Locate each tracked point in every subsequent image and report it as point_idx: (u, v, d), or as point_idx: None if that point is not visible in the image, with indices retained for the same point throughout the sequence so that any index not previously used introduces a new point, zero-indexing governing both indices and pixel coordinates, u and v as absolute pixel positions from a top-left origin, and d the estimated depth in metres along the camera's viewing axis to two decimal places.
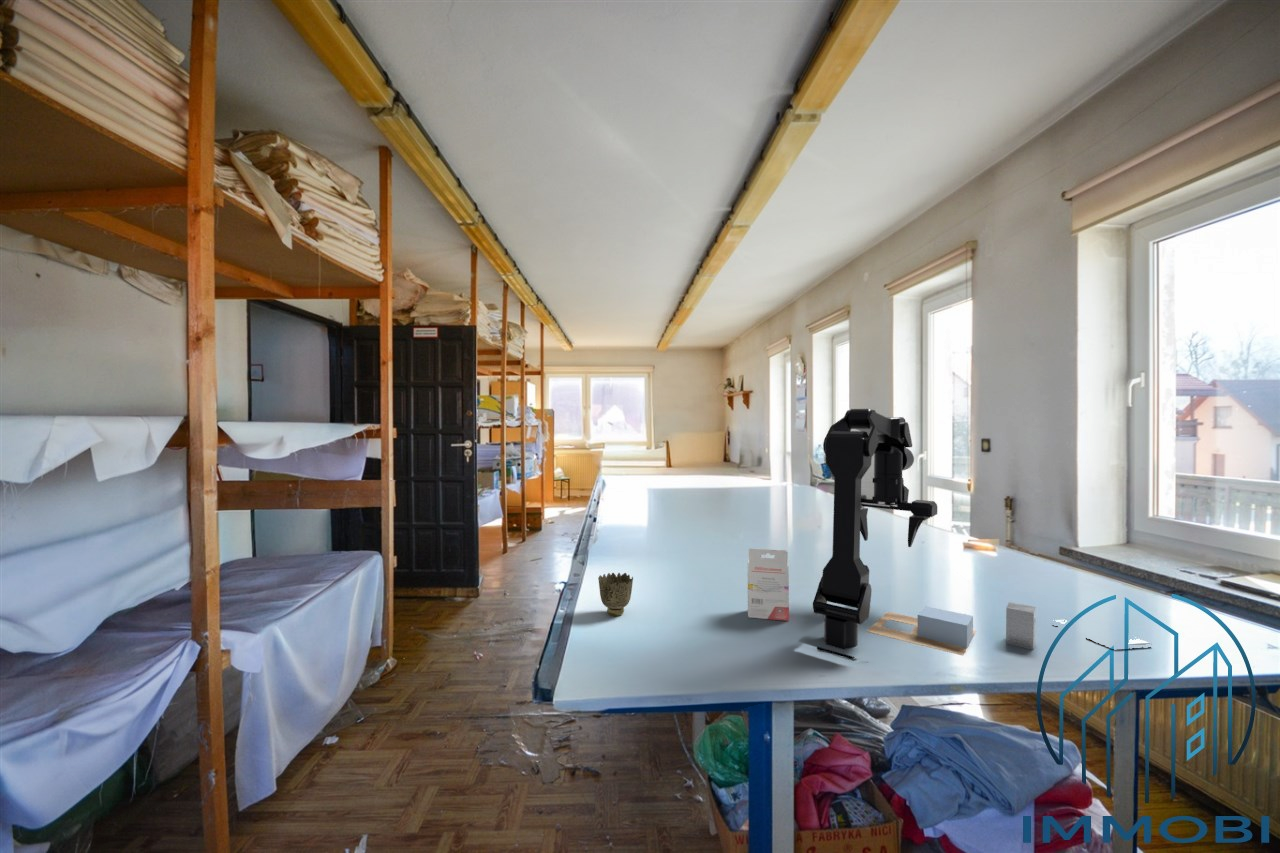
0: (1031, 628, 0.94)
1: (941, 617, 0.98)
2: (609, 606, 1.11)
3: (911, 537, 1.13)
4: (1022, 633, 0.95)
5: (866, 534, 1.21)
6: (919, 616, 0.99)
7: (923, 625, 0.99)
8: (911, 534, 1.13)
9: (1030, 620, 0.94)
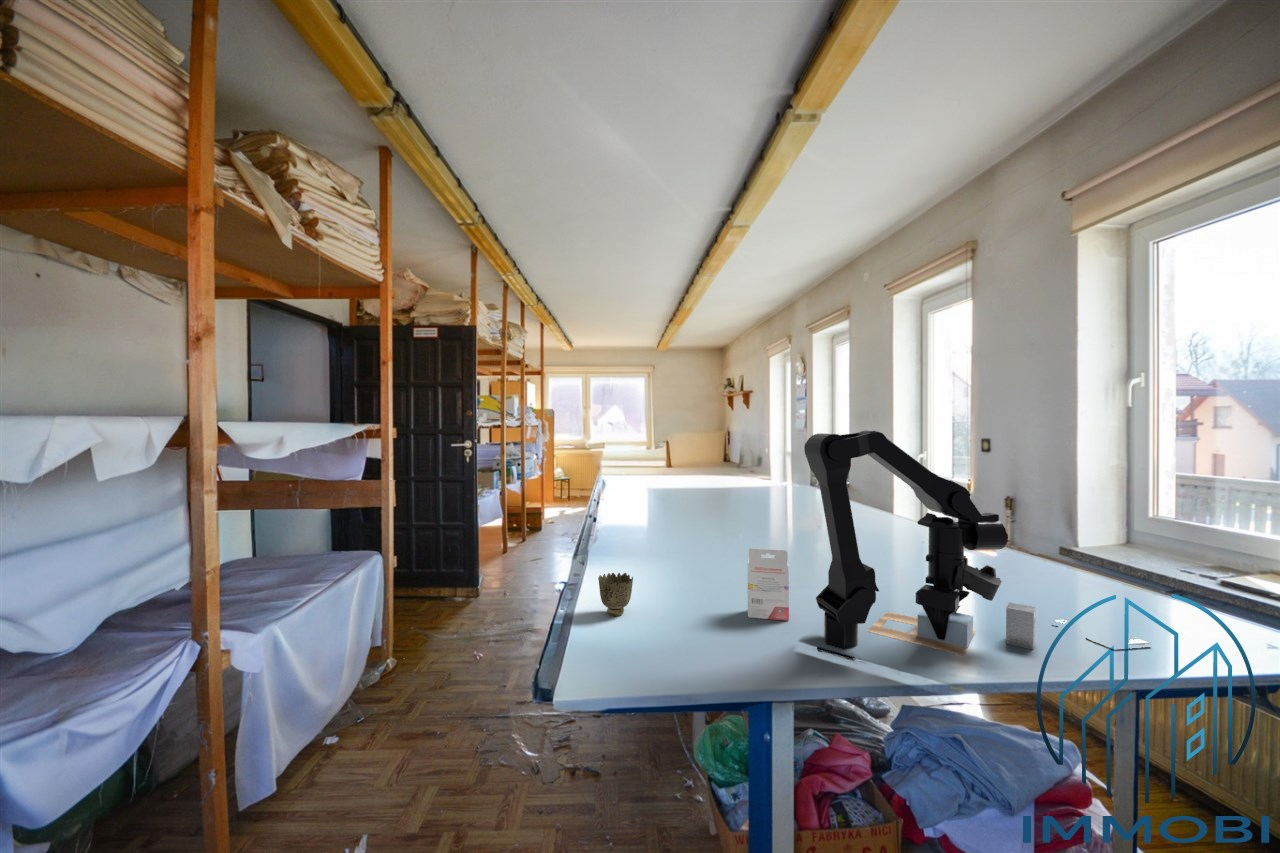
0: (1031, 628, 0.94)
1: None
2: (609, 606, 1.11)
3: None
4: (1022, 633, 0.95)
5: None
6: (919, 616, 0.99)
7: (923, 625, 0.99)
8: None
9: (1030, 620, 0.94)
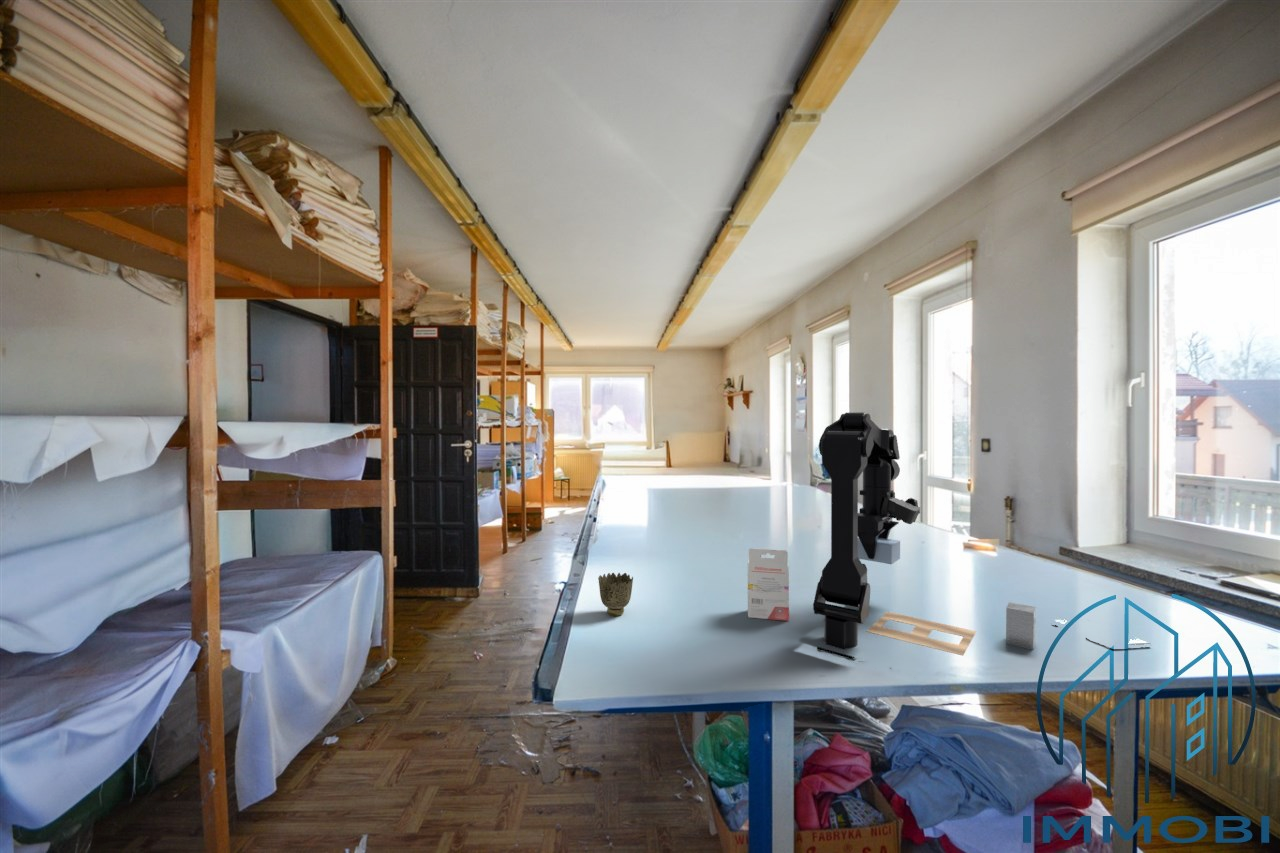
0: (1031, 628, 0.94)
1: None
2: (609, 606, 1.11)
3: None
4: (1022, 633, 0.95)
5: None
6: None
7: None
8: None
9: (1030, 620, 0.94)
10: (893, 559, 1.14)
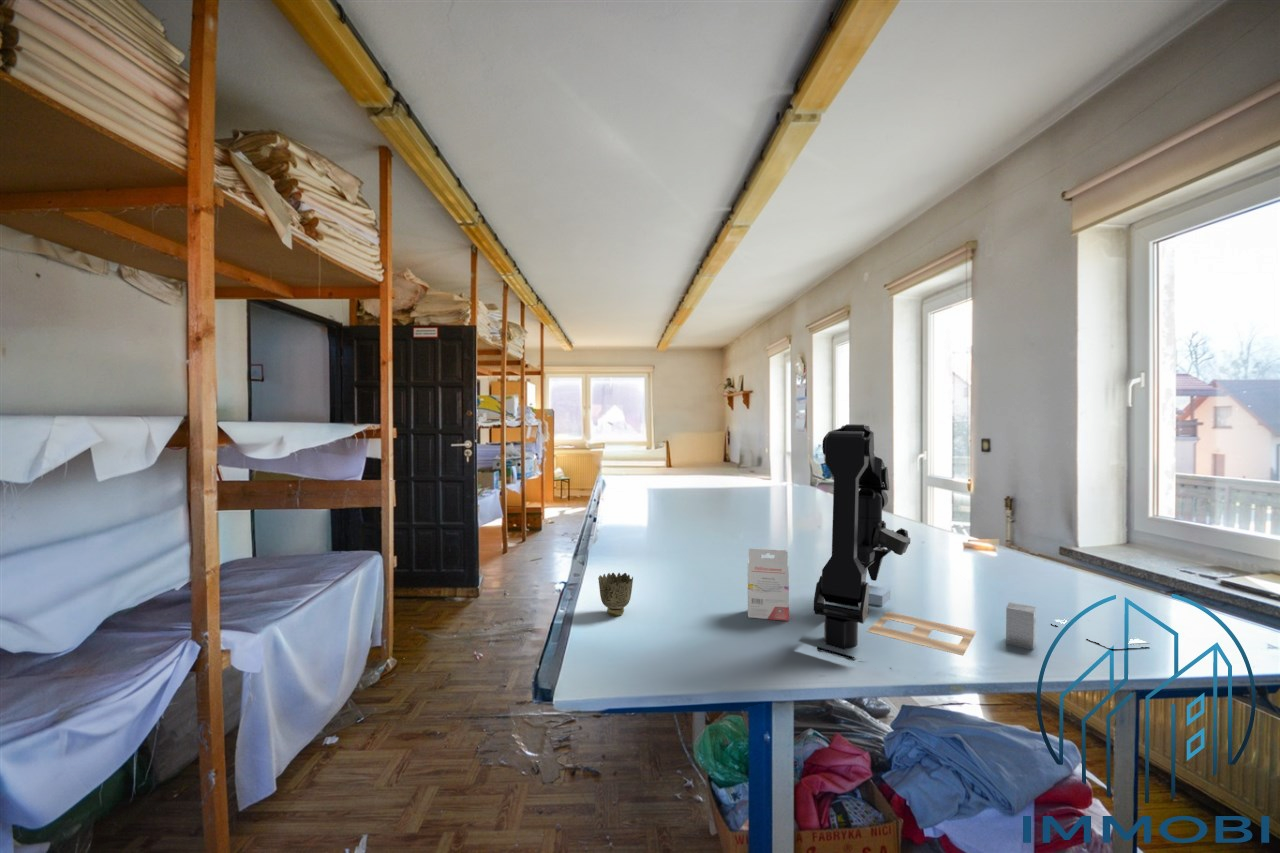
0: (1031, 628, 0.94)
1: None
2: (609, 606, 1.11)
3: None
4: (1022, 633, 0.95)
5: (872, 574, 1.24)
6: None
7: None
8: None
9: (1030, 620, 0.94)
10: None
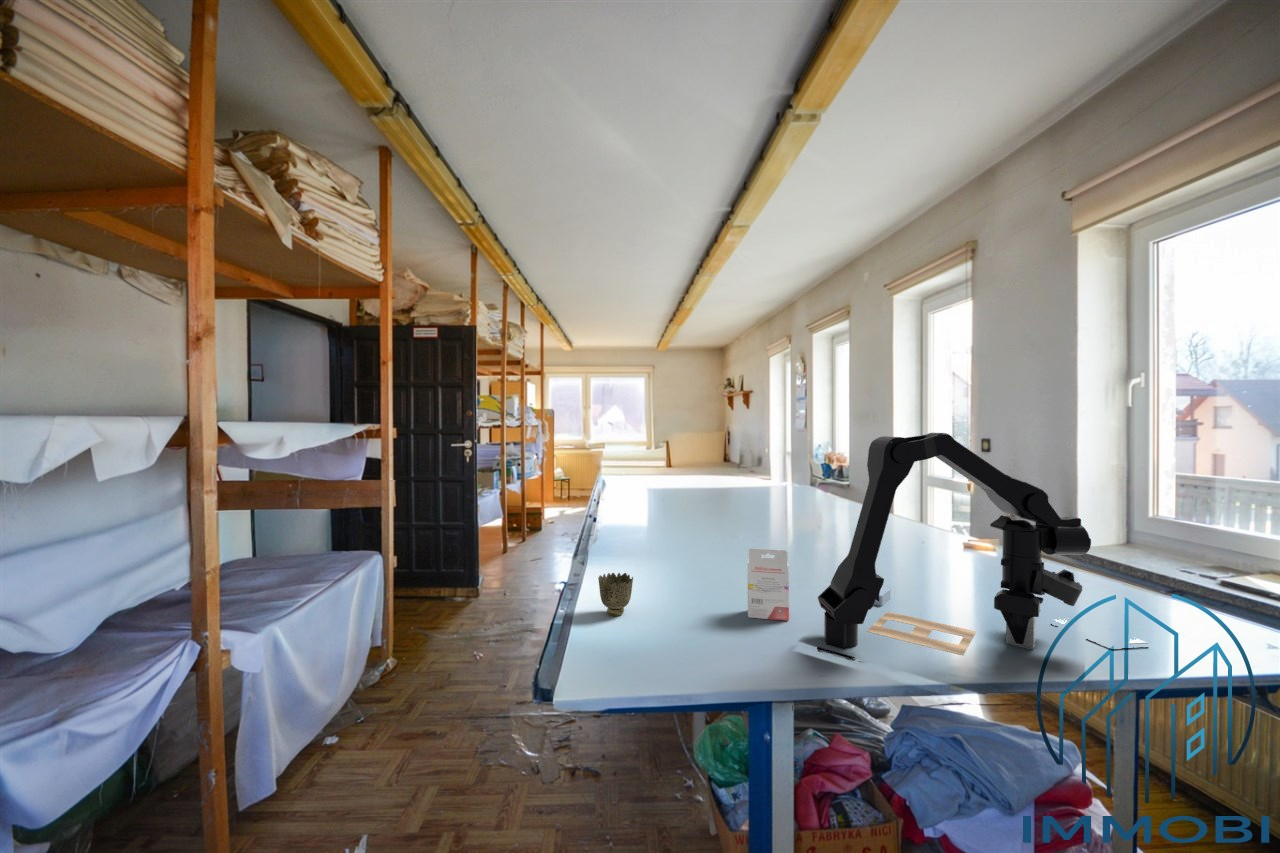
0: (1031, 628, 0.94)
1: None
2: (609, 606, 1.11)
3: None
4: None
5: None
6: None
7: None
8: (1008, 625, 0.95)
9: (1030, 620, 0.94)
10: None
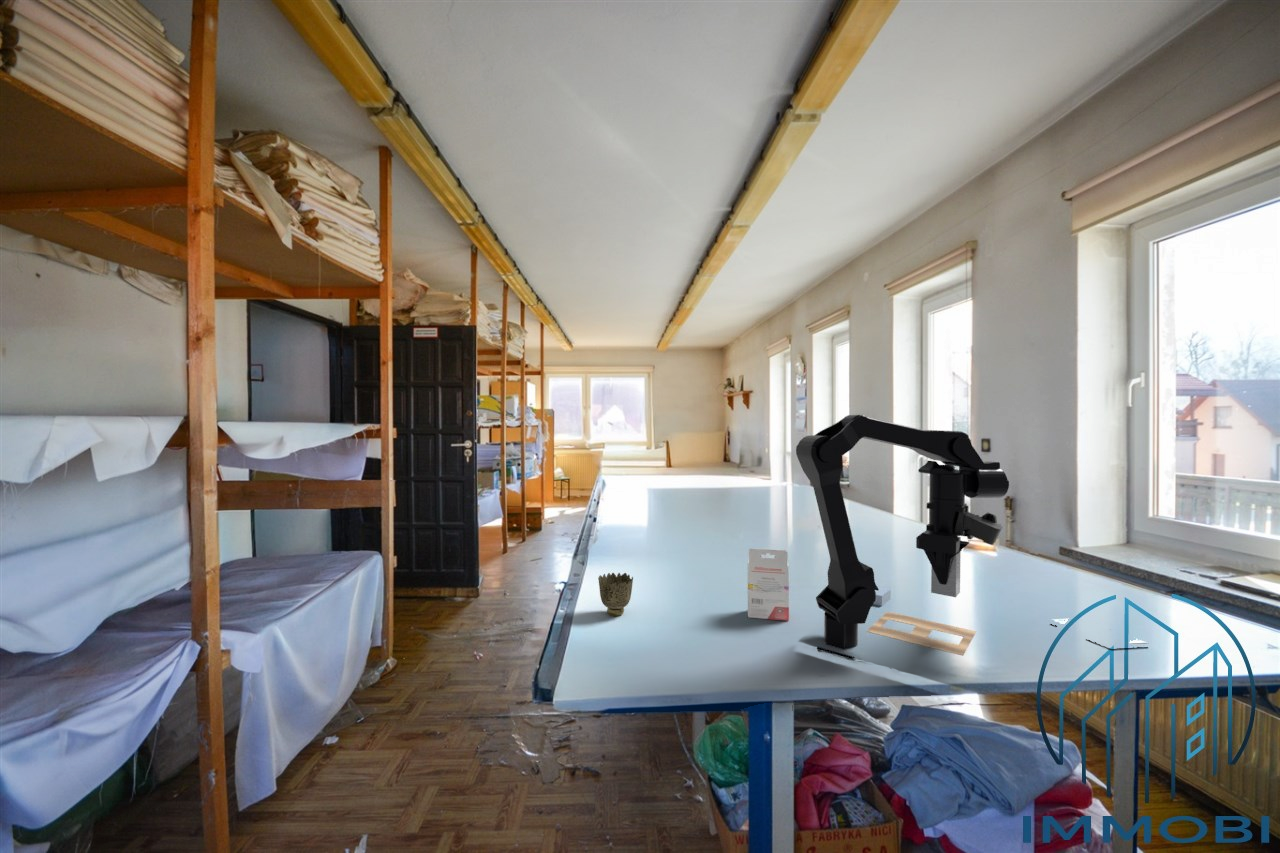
0: (954, 568, 0.96)
1: None
2: (609, 606, 1.11)
3: None
4: None
5: None
6: None
7: None
8: None
9: (953, 561, 0.96)
10: None
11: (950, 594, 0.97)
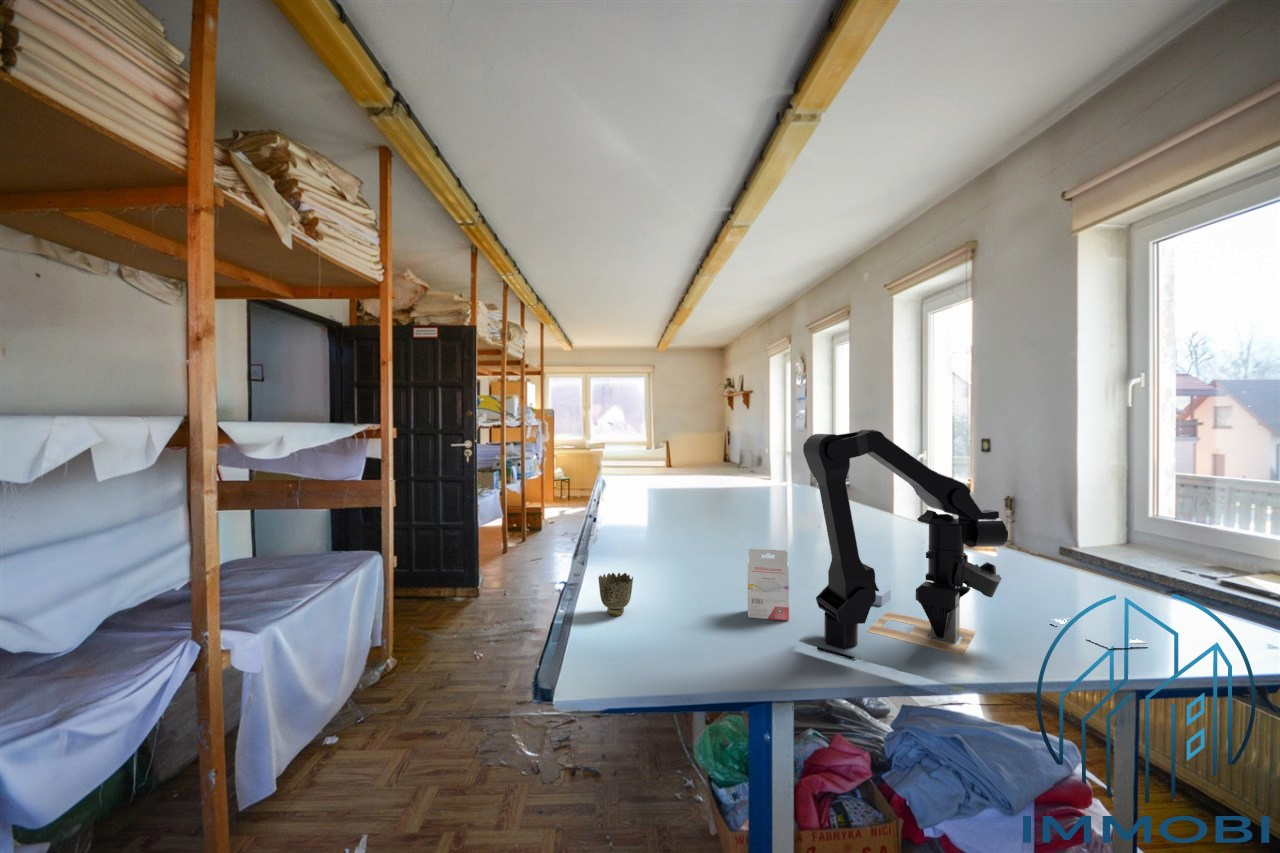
0: (953, 620, 0.96)
1: None
2: (609, 606, 1.11)
3: None
4: None
5: None
6: None
7: None
8: None
9: (953, 613, 0.96)
10: None
11: None
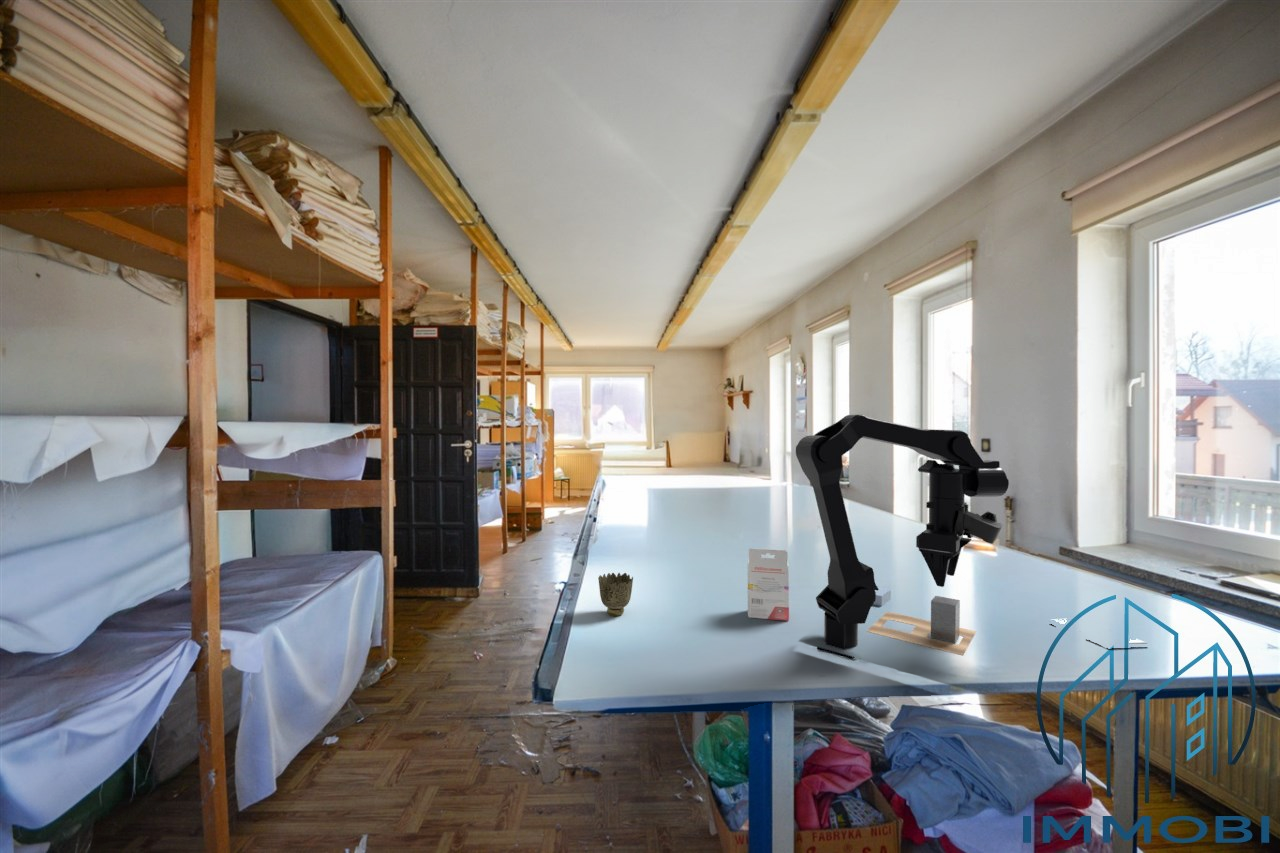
0: (953, 620, 0.96)
1: None
2: (609, 606, 1.11)
3: None
4: (945, 625, 0.97)
5: (949, 567, 1.02)
6: None
7: None
8: None
9: (953, 613, 0.96)
10: None
11: None
